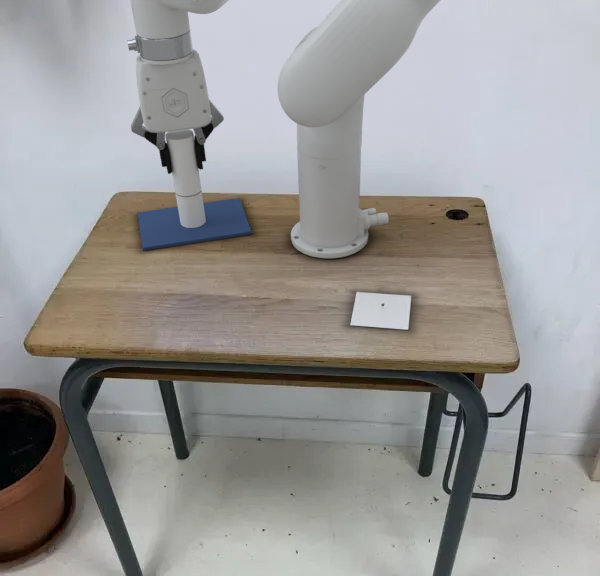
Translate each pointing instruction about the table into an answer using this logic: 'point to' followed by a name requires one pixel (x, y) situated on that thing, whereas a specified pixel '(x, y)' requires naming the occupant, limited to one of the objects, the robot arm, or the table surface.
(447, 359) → the table surface
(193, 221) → the tube
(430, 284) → the table surface
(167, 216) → the cloth mat
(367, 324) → the white piece
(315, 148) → the robot arm
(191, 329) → the table surface
